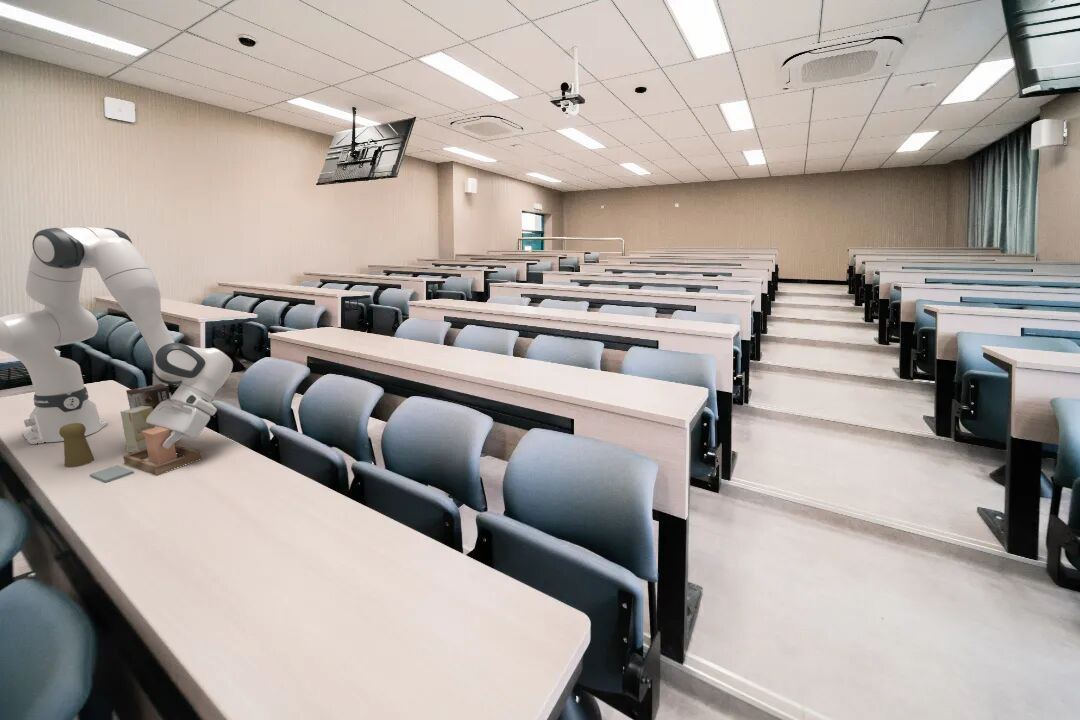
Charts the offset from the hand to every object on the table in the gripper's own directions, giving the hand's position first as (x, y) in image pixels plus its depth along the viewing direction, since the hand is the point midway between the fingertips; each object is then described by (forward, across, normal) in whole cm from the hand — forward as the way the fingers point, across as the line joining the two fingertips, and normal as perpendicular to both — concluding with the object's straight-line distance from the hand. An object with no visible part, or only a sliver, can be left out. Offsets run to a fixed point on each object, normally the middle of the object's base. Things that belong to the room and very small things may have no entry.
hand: (157, 445), depth 135 cm
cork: (+11, -20, -3) cm, 23 cm away
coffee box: (-3, -20, +10) cm, 23 cm away
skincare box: (+2, -15, +6) cm, 16 cm away
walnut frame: (+3, 0, +4) cm, 5 cm away
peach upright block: (+3, 0, +4) cm, 5 cm away
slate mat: (+10, -3, -4) cm, 11 cm away
